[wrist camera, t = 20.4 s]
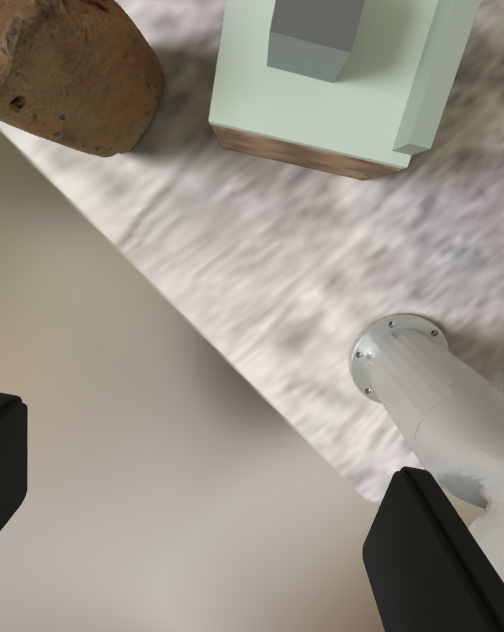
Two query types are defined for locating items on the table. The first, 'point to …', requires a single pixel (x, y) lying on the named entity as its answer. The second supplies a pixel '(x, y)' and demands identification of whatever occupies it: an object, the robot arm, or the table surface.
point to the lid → (347, 80)
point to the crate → (299, 154)
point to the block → (77, 74)
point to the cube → (313, 36)
